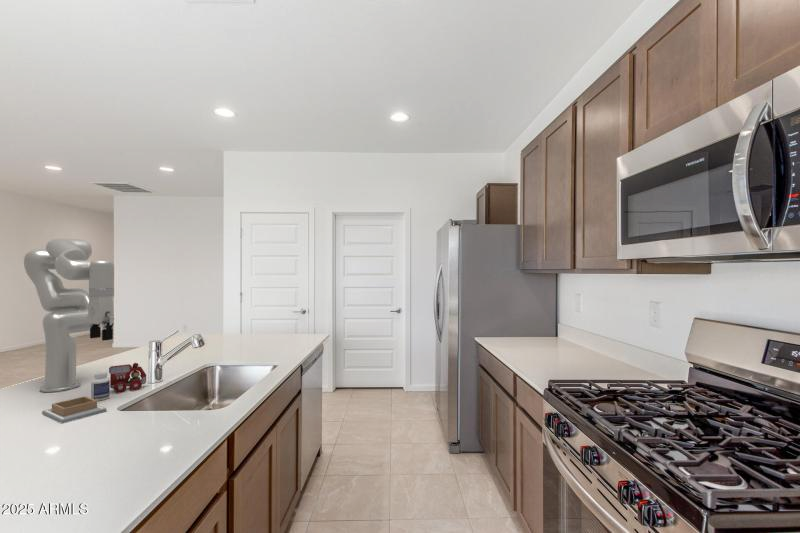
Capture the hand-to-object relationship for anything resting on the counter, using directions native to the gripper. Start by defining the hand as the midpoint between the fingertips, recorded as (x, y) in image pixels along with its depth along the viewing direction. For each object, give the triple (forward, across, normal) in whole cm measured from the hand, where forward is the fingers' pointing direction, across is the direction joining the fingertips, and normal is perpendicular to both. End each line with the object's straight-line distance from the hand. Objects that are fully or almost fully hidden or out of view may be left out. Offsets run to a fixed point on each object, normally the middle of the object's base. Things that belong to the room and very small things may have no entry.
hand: (101, 338), depth 144 cm
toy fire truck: (+23, -4, +11) cm, 26 cm away
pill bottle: (+23, 0, 0) cm, 23 cm away
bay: (+23, +9, -11) cm, 27 cm away
